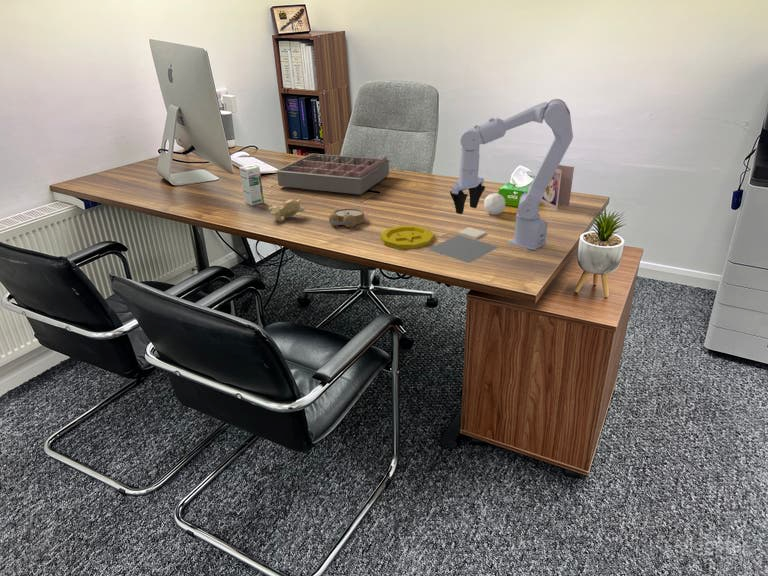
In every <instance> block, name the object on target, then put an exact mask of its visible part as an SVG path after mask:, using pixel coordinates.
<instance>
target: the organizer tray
mask: <svg viewBox="0 0 768 576" xmlns="http://www.w3.org/2000/svg"><path fill="white" fill-rule="evenodd" d="M391 161H392V160H391V159H388V156H387V155H385V156H383V157H382V158H372V157H371V158H370V157H359V156H350V155H349V156H347V155H336V154H325V153H324V154H322V153H321V154H320V153H310V154H308V155H306V156H304V157H301V158H299V159H297V160H295V161H293V162H291V163H288V164H287V165H285V166H283V167H280V168H278V169H277V170H275V171H274V172H276V173H277V174H276V175H277V182H278V187H283V188H284V187H286V188H296V189H306V190H312V191H325V192H333V193H342V194H353V195H362V194H364V193H365V192H366V191H368V190H369V189H371V188H373V187H374V186H375V185H377V184H378V183H380V182H381V181H382V180H384V179H386V178H387V177H388V176H389V175H390V162H391Z"/></svg>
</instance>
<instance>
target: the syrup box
mask: <svg viewBox="0 0 768 576" xmlns="http://www.w3.org/2000/svg"><path fill="white" fill-rule="evenodd" d="M239 173H240V174H239V175H240V179H241V186H242V187H241V188H242V193H243V198H244V199H243V200H244V203H245V204H247V205H249V206H255V205H258V204H262V203H264V202H265V199H264V192H263V185H262V184H263V183H262V176H261V168H260V166H259V165H255V164H250V165H244V166H239Z"/></svg>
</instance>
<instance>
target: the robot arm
mask: <svg viewBox="0 0 768 576" xmlns="http://www.w3.org/2000/svg"><path fill="white" fill-rule="evenodd" d="M532 122H535V123H539V124H543V122H545V124H546V125H547V126H548V127H549V128H550V129H551V130H552V133H553V136H554V139H553V141H552V143H551V145H550V146H549V148H548V151H547V152H546V154H545V156H544V158H543V161H542V162H541V164H540V166H539V167H538V170H537V171H536V175H535V176H534V178H533V179H532V182H531V184H530V185H529V186H528V188H527V190H526V191H525V192H524V193H522V194H521V195H520V196H519V197H520V198H519V202H518V206H517V213H516V215H515V225H514V235H513V236H514V237H513V238H512V239H510V240H508V243H509V244H513V245H516V246H519V247H522V248H525V249H528V250H531V251H535V250H537V249H539V248H541V247H542V246H544V245H547V240H546V239H547V233H548V232H547V231H548V222H547V221H546V220H544V219H542V218H541V216H540V215H541V214H540V213H539V212H540V204H541V203H542V202H541V200H542V197H543V195H544V192H545V190H546V188H547V186H548V185H549V183H550V181H551V179H552V177H553V175H554V173H555V171H556V169H557V167H558V166H559V165H561V161H562V160H563V158H564V157H565V155H566V153H567V150H568V149H569V147H570V145H571V143H572V142H573V138H574V134H573V126H572V119H571V112H570V109H569V107H568V105H567V103H566V102H565V101H563V99H560V98H554V99H551V100H549V101H544V102H542V103H539V104H538V103H537V104H536V105H533V106H531V107H529V108H526V109H525V110H522V111H520V112H518V113H516V114H514V115H510V116H509V117H507V118H505V119H502V118H500V117H499V118H498V117H496V118H494V117H490V118H489V119H488V121H486V122H484V123H482V124H479V125H478V124H475V125H474V126H473V127H470V128H468V129H466V130H465V131H464V133H462V135H461V137H460V145H461V150H460V151H461V153H460V160H459V161H460V163H459V176H458V177H459V179H457V180H456V184H455V185H453V186H452V187H451V191H450V192H449V193H450V194H449V195H450V196H451V199H452V201H453V205H454V209H455V212H456V214H458V215H463V214H464V210H465V203H466V200H467V197H468V196H469V206H470V208H473V209H477V208H478V205H479V201H480V199H481V197H482V194H484V193H483V192H484V191H486V186H485V185H484V183H485V178H484V177H480V176H479V169H480V168H479V166H480V145H486V144H489V143H491V142H493V141H496V140H499V139H501V138H503V137H505V134H506V133H507V131H509V130H512V129H514V128H517V127H520V126H522V125H525V124H526V125H527V124H528V123H532ZM466 190H468V193H465V192H464V191H466ZM468 194H469V195H468Z"/></svg>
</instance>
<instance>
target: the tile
mask: <svg viewBox="0 0 768 576" xmlns="http://www.w3.org/2000/svg"><path fill="white" fill-rule="evenodd" d="M486 234H487V231H484V230H481V229H477V228H475V227H474V228H473V227H471V226H470V227H469V226H468V227H466V228H464V229H461V230H459V231H458V232H457V235H460V236H463V237H467V238H470V239H474V240H476V239H478V238H481V237H482V236H486Z"/></svg>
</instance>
